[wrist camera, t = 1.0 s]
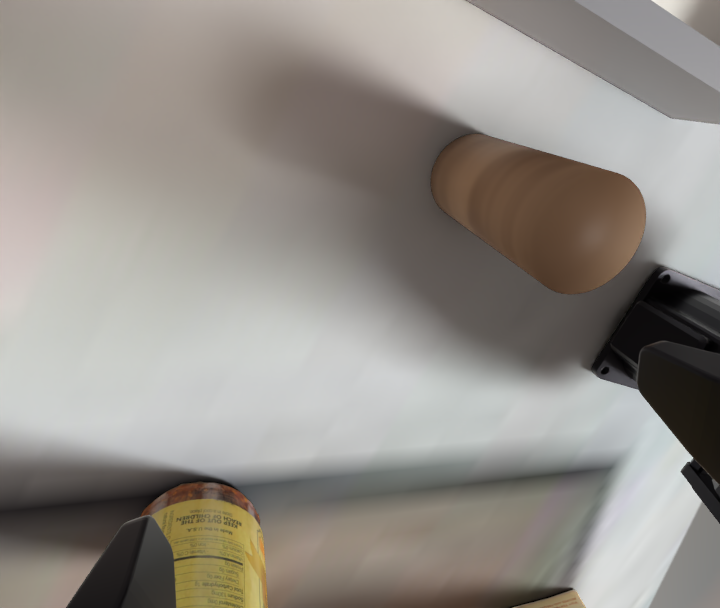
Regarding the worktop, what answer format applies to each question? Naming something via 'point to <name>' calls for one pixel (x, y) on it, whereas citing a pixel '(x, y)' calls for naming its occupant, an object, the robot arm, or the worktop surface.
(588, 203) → the peg
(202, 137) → the worktop surface
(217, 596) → the sauce bottle
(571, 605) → the coffeecake box
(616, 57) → the box
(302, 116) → the worktop surface
